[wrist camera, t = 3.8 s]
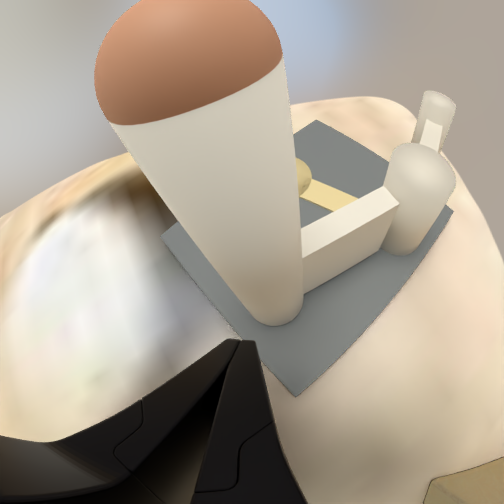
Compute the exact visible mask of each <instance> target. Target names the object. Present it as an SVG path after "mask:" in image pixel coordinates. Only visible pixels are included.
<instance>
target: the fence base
mask: <svg viewBox="0 0 504 504" xmlns="http://www.w3.org/2000/svg"><path fill="white" fill-rule="evenodd" d="M455 110H456V105H455V103H454V102H453V101H452V100H451V99H450V98H448V97H447V96H445V95H444V94H441V93H439V92H436V91H431V90H428V91H425V92H424V95H423V99H422V103H421V108H420V112H419V116H418V119H417V123H416V127H415V131H414V134H413V138H412V141H411V143H405V144H401V145H399V146H397V147H396V148H395V149H394V150H393V152H392V155H391V159H390V162H389V166H388V170H387V173H386V177H385V180H384V184H383V186H384V187H385V188H386V189H387V190H388V191H389V192H390V193H391V194H392V196H393V197H394V198H395V199H396V200H397V201H398V202H399V206H398V209H397V211H396V213H395V216H394V218H393V220H392V223H391V225H390V227H389V229H388V231H387V233H386V236H385V238H384V240H383V242H382V244H381V246H380V248H381V249H383V250H384V251H386V252H387V253H390V254H392V255H397V256H404V255H408V254H410V253H412V252H413V251H414V250H415V249H416V248H417V247H418V246H419V244H420V243H421V241H422V240H423V238H424V237H425V235H426V234H427V232H428V231H429V229H430V228H431V226H432V225H433V223H434V222H435V220H436V219H437V217H438V215H439V214H440V212H441V211H442V209H443V207H444V206H445V204H446V203H447V201H448V199H449V197H450V196H451V194H452V192H453V191H454V189H455V186H456V177H455V173H454V171H453V169H452V167H451V165H450V164H449V163H448V161H447V160H446V159H445V158H444V157H443V156H442V155H441V154H440V152H441V149H442V146H443V144H444V141H445V139H446V136H447V133H448V131H449V128H450V125H451V122H452V119H453V117H454V113H455Z"/></svg>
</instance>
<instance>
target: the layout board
mask: <svg viewBox="0 0 504 504" xmlns="http://www.w3.org/2000/svg"><path fill="white" fill-rule="evenodd" d="M293 138H294V147H295V158H296V169H297V181H298V194H299V208H300V224H301V228H303V227H305V226H307V225H309V224H311V223H313V222H315V221H317V220H319V219H321V218H322V217H324V216H326V215H328V214H330V213H332V212H334V211H336V210H338V209H340V208H342V207H344V206H346V205H348V204H349V203H351V202H353V201H355V200H357V199H359V198H361V197H363V196H365V195H367V194H369V193H371V192H373V191H374V190H376V189H378V188H380V187H382V186H383V184H384V180H385V177H386V173H387V170H388V166H389V162H388V161H386V160H385V159H383V158H382V157H380V156H379V155H377V154H375V153H374V152H372V151H371V150H369V149H368V148H366V147H364V146H363V145H361V144H359V143H358V142H356V141H354V140H353V139H351V138H349V137H347V136H346V135H344V134H342V133H340V132H338V131H337V130H335V129H333V128H331V127H329V126H327V125H326V124H324V123H322V122H320V121H318V120H315V121H313V122H312V123H310V124H309V125H307V126H306V127H304V128H303V129H301V130H300V131H298V132H297V133H295V134H294V135H293ZM453 212H454V211H453V210H451V209H450V208H449V207H448V206H447V205H446V204H445V206H444V207H443V209H442V211H441V212H440V214H439V215H438V217H437V219H436V220H435V222H434V223H433V225H432V226H431V228H430V229H429V231H428V232H427V234H426V235H425V237H424V238H423V240H422V241H421V243H420V244H419V246H418V247H417V248H416V249H415V250H414V251H413V252H412V253H410V254H408V255H404V256H397V255H392V254H390V253H387V252H386V251H384V250H383V249H381V248H379V250H378V251H377V252H375V253H374V254H372V255H370V256H369V257H367V258H365V259H364V260H362V261H361V262H359V263H357V264H356V265H354V266H352V267H350V268H349V269H347V270H345V271H344V272H342V273H340V274H339V275H337V276H335V277H333V278H332V279H330V280H328V281H326V282H325V283H323V284H321V285H319V286H318V287H316V288H314V289H312V290H310V291H309V292H307V293H305V294H303V296H304V299H303V305H302V308H301V310H300V312H299V313H298V315H297V316H296V317H295V318H294V319H293V320H292V321H290V322H288V323H286V324H284V325H280V326H268V325H265V324H262V323H260V322H259V321H257V320H256V319H255V318H254V317H253V316H252V315H251V314H250V312H249V311H248V310H247V309H246V307H245V306H244V305H243V304H242V303H241V301H240V300H239V299H238V298H237V296H236V295H235V294H234V293H233V291H232V290H231V289H230V288H229V286H228V285H227V284H226V283H225V281H224V280H223V279H222V277H221V276H220V275H219V274H218V272H217V271H216V270H215V268H214V267H213V266H212V265H211V263H210V262H209V261H208V259H207V258H206V257H205V256H204V254H203V253H202V252H201V250H200V249H199V248H198V246H197V245H196V244H195V242H194V241H193V240H192V239H191V237H190V236H189V235H188V233H187V232H186V231H185V229H184V228H183V227H182V225H181V224H180V223H179V221H178V222H177V223H175V224H174V225H173V226H172V227H171V228H170V229H168V230H167V231H166V232H165V233H164V234H162V235H161V236H160V237H161V238H162V240H163V241H164V242H165V244H166V245H167V246H168V248H169V249H170V250H171V252H172V253H173V254H174V256H175V257H176V258H177V259H178V261H179V262H180V263H181V265H182V266H183V267H184V269H185V270H186V271H187V272H188V274H189V275H190V276H191V278H192V279H193V280H194V281H195V283H196V284H197V285H198V286H199V288H200V289H201V290H202V291H203V293H204V294H205V295H206V296H207V298H208V299H209V300H210V301H211V302H212V304H213V305H214V306H215V307H216V309H217V310H218V311H219V312H220V313H221V315H222V316H223V317H224V318H225V319H226V320H227V322H228V323H229V324H230V325H231V326H232V328H233V329H234V330H235V331H236V332H237V333H238V335H239V336H240V337H241V338H242V339H243V340H254V341H255V342H256V345H257V349H258V353H259V357H260V359H261V361H262V362H263V363H264V364H265V365H266V366H267V367H268V368H269V369H270V370H271V372H272V373H273V374H274V375H275V376H276V377H277V378H278V379H279V380H280V381H281V382H282V383H283V384H284V385H285V386H286V388H287V389H288V390H289V391H290V392H291V393H292V394H293V395H294V396H295V397H297V396H298V395H299V394H300V393H301V392H302V391H304V390H305V389H306V388H307V387H308V386H309V385H310V384H311V383H313V382H314V381H315V380H316V379H317V378H318V377H319V376H320V375H321V374H322V373H323V372H324V371H326V370H327V369H328V368H329V367H330V366H331V365H332V364H333V363H334V362H335V361H336V360H337V359H338V358H339V357H340V356H341V355H342V354H343V353H344V352H345V351H346V350H347V349H348V348H349V347H350V346H351V345H352V344H353V343H354V342H355V341H356V339H357V338H358V337H359V336H360V335H361V334H362V333H363V332H364V331H365V330H366V329H367V328H368V326H369V325H370V324H371V323H372V322H373V321H374V320H375V319H376V317H377V316H378V315H379V314H380V313H381V312H382V310H383V309H384V308H385V307H386V306H387V305H388V303H389V302H390V301H391V300H392V299H393V297H394V296H395V295H396V294H397V292H398V291H399V290H400V289H401V287H402V286H403V285H404V283H405V282H406V281H407V280H408V278H409V277H410V276H411V274H412V273H413V272H414V270H415V269H416V268H417V266H418V265H419V263H420V262H421V261H422V259H423V258H424V257H425V255H426V254H427V252H428V251H429V249H430V248H431V246H432V245H433V243H434V242H435V240H436V239H437V237H438V236H439V234H440V233H441V231H442V230H443V228H444V227H445V225H446V223H447V222H448V220H449V219H450V217H451V215H452V214H453Z"/></svg>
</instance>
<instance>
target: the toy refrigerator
mask: <svg viewBox="0 0 504 504" xmlns="http://www.w3.org/2000/svg"><path fill="white" fill-rule="evenodd" d="M423 504H504V457H503V458H500V459H498V460H495V461H493V462H490V463H487V464H484V465H482V466H479V467H476V468H473V469H470V470H466V471H463V472H459V473H455V474H452V475H448V476H444V477H440V478H437V479H434V480H433V481H432V482H431V483H430V486H429V489H428V492H427V495H426V498H425V500H424V503H423Z"/></svg>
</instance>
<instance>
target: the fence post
mask: <svg viewBox="0 0 504 504" xmlns="http://www.w3.org/2000/svg"><path fill="white" fill-rule="evenodd" d="M94 72H95V74H94V75H95V76H94V79H95V90H96V96H97V99H98V102H99V105H100V107H101V109H102V111H103V113H104V115H105V117H106V118H107V120H108V121H109V123H110V124H111V126H112V127H113V129H114V131H115V132H116V134H117V135H118V136H119V138H120V139H121V141H122V142H123V144H124V145H125V146H126V148H127V150H128V151H129V153H130V154H131V156H132V157H133V158H134V160H135V161H136V163H137V164H138V166H139V167H140V169H141V170H142V171H143V173H144V174H145V176H146V177H147V178H148V180H149V181H150V183H151V184H152V185H153V187H154V188H155V190H156V191H157V192H158V194H159V195H160V197H161V198H162V199H163V201H164V202H165V203H166V205H167V206H168V208H169V209H170V210H171V212H172V213H173V214H174V216H175V217H176V218H177V220H178V221H179V223H180V224H181V225H182V227H183V228H184V229H185V231H186V232H187V233H188V235H189V236H190V237H191V239H192V240H193V241H194V242H195V244H196V245H197V246H198V248H199V249H200V250H201V252H202V253H203V254H204V256H205V257H206V258H207V259H208V261H209V262H210V263H211V265H212V266H213V267H214V268H215V270H216V271H217V272H218V274H219V275H220V276H221V277H222V279H223V280H224V281H225V283H226V284H227V285H228V286H229V288H230V289H231V290H232V291H233V293H234V294H235V295H236V296H237V298H238V299H239V300H240V301H241V303H242V304H243V305H244V306H245V307H246V309H247V310H248V311H249V312H250V314H251V315H252V316H253V317H254V318H255V319H256V320H257V321H259V322H260V323H262V324H265V325H268V326H280V325H284V324H286V323H288V322H290V321H292V320H293V319H294V318H295V317H296V316H297V315H298V313H299V312H300V310H301V308H302V305H303V299H304V296H303V294H305V293H307V292H309V291H310V290H312V289H314V288H316V287H318V286H319V285H321V284H323V283H325V282H326V281H328V280H330V279H332V278H333V277H335V276H337V275H339V274H340V273H342V272H344V271H345V270H347V269H349V268H350V267H352V266H354V265H356V264H357V263H359V262H361V261H362V260H364V259H365V258H367V257H369V256H370V255H372V254H374V253H375V252H377V251H378V250H379V248H380V246H381V244H382V242H383V240H384V238H385V236H386V233H387V231H388V229H389V227H390V225H391V223H392V220H393V218H394V216H395V213H396V211H397V209H398V206H399V202H398V201H397V200H396V199H395V198H394V197H393V196H392V194H391V193H390V192H389V191H388V190H387V189H386V188H385V187H384V186H382V187H380V188H378V189H376V190H374V191H373V192H371V193H369V194H367V195H365V196H363V197H361V198H359V199H357V200H355V201H353V202H351V203H349V204H348V205H346V206H344V207H342V208H340V209H338V210H336V211H334V212H332V213H330V214H328V215H326V216H324V217H322V218H321V219H319V220H317V221H315V222H313V223H311V224H309V225H307V226H305V227H303V228H301V224H300V208H299V194H298V181H297V169H296V158H295V147H294V138H293V128H292V119H291V111H290V102H289V95H288V87H287V79H286V72H285V65H284V59H283V53H282V49H281V44H280V40H279V37H278V35H277V33H276V30H275V28H274V27H273V25H272V23H271V22H270V20H269V19H268V18H267V17H266V16H265V14H264V13H263V12H262V11H261V10H260V9H259V8H258V7H257V6H255V5H254V4H253V3H252V2H250V1H249V0H141V1H139V2H138V3H136V4H135V5H133V6H132V7H131V8H130V9H128V10H127V11H126V12H125V13H124V14H123V15H122V16H121V17H120V18H119V19H118V20H117V21H116V22H115V23H114V24H113V26H112V27H111V29H110V30H109V32H108V33H107V35H106V36H105V38H104V40H103V42H102V45H101V47H100V50H99V52H98V56H97V59H96V65H95V71H94Z"/></svg>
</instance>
